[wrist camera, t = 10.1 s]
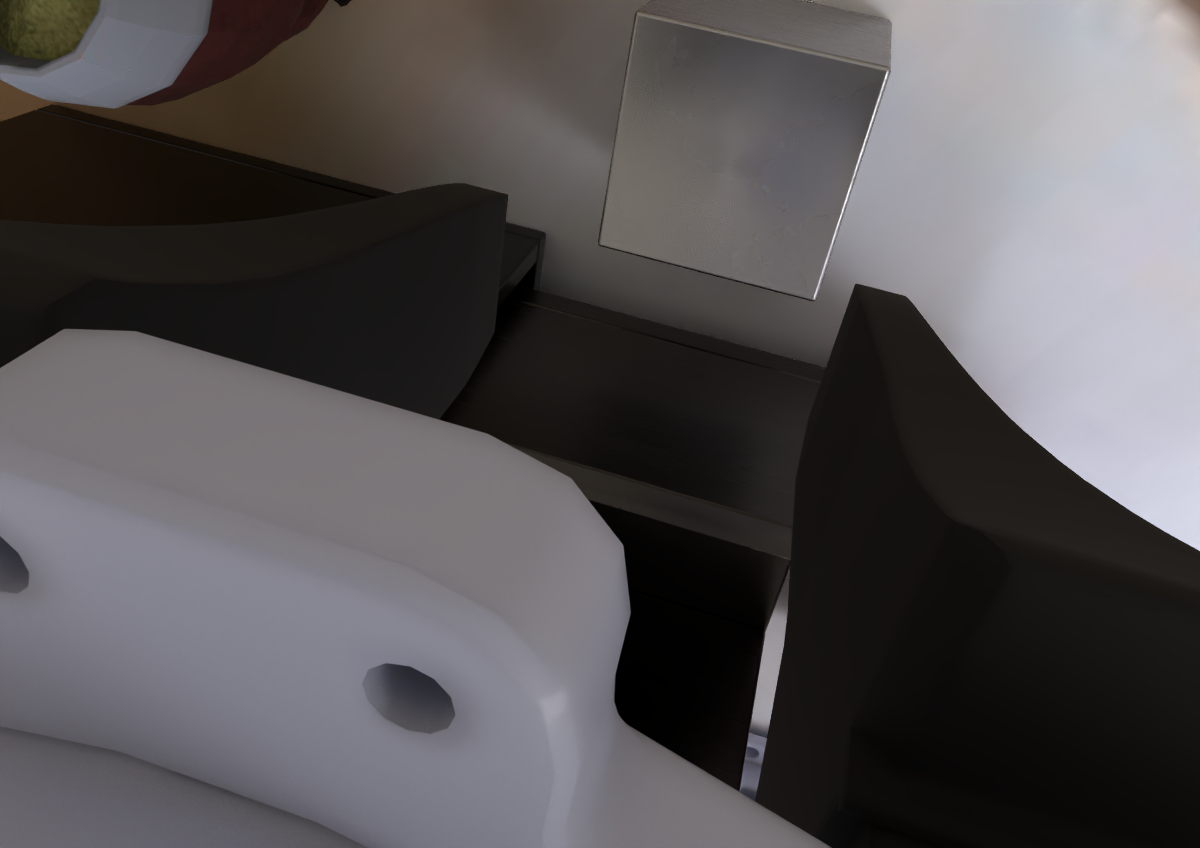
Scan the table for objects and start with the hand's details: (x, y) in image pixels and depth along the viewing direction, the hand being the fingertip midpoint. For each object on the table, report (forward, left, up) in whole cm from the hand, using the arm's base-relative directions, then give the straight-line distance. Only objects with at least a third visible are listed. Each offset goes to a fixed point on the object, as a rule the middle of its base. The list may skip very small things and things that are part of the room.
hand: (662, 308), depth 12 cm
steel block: (0, 0, -10) cm, 10 cm away
